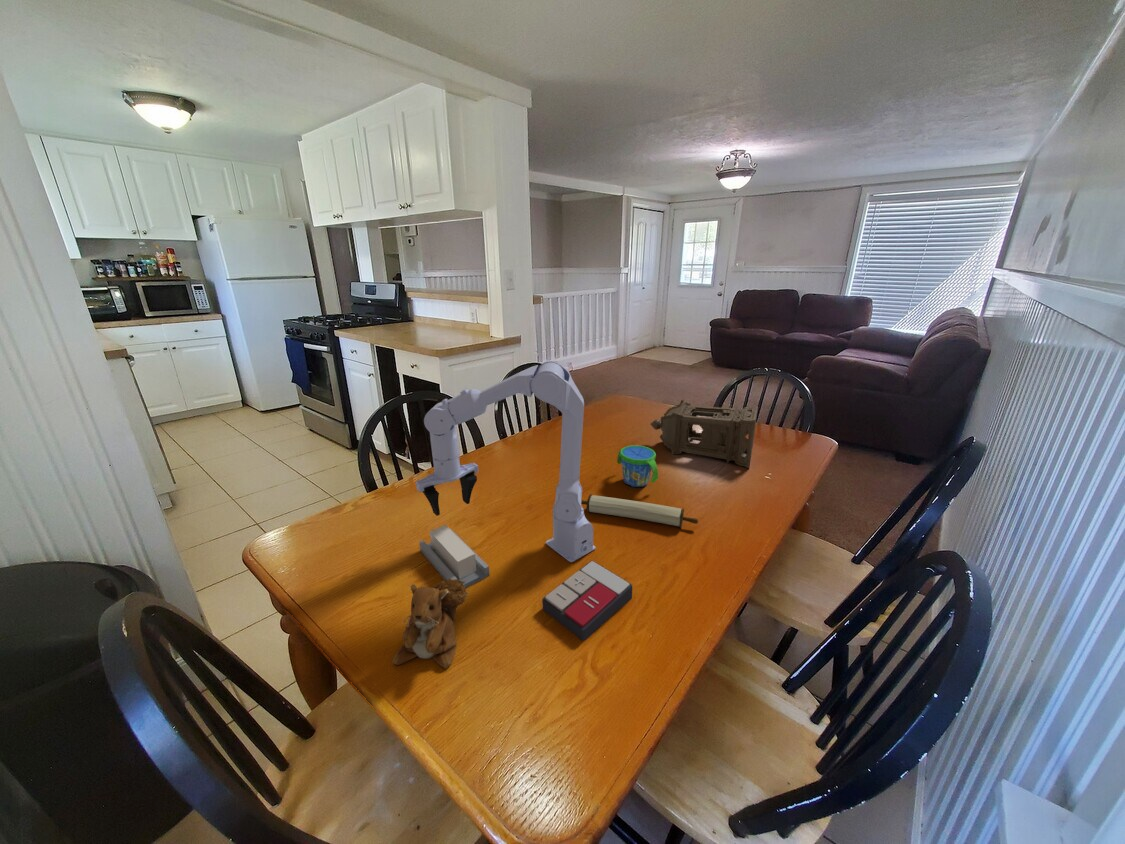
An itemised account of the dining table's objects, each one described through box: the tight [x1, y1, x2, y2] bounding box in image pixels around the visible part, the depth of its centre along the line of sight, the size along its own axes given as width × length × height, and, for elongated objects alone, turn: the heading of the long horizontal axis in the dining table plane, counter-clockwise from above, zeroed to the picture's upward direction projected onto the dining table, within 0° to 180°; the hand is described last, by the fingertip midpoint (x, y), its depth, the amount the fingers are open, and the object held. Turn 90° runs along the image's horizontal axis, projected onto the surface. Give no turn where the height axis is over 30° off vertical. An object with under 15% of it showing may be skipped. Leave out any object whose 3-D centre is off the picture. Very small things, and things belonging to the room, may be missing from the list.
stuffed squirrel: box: [392, 579, 469, 669], centre depth 75 cm, size 10×14×13 cm
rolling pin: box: [581, 493, 699, 529], centre depth 112 cm, size 32×6×5 cm, turn 72°
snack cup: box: [616, 444, 659, 488], centre depth 130 cm, size 16×10×10 cm
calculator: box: [541, 560, 633, 641], centre depth 85 cm, size 11×4×15 cm
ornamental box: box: [650, 399, 759, 469], centre depth 150 cm, size 35×18×18 cm, turn 64°
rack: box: [418, 528, 490, 589], centre depth 96 cm, size 18×8×2 cm, turn 40°
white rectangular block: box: [429, 524, 477, 579], centre depth 96 cm, size 14×4×4 cm, turn 40°
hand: (451, 507), depth 101 cm, fingers open, 7 cm apart
